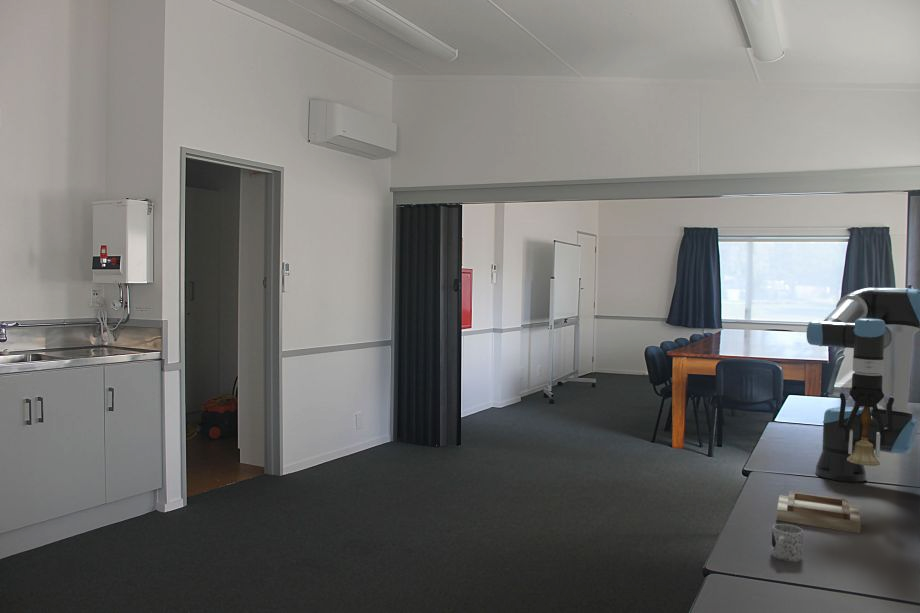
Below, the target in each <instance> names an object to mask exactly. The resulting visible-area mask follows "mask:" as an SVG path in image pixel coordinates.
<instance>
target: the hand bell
mask: <svg viewBox="0 0 920 613" xmlns="http://www.w3.org/2000/svg"><path fill="white" fill-rule="evenodd" d="M862 409H863V411H862V414H861V424H862V436H861V440H860V441H858V442H856V443H855V448H854V451H853V453H852V454H851V455H850V456H849V457H848V458H847V461H849V462H851V463H855V464H860V465H864V466H868V467H869V466H870V467H877V466H880V465H881V463H880V461H879V460H878V459H877V457H876V453H875V452H874V451H875V450H874V449H873V444H872V443H870V442H869V441H868V430H869V426H870V423H871V407H867V406H863V408H862Z"/></svg>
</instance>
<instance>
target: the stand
mask: <svg viewBox="0 0 920 613" xmlns="http://www.w3.org/2000/svg"><path fill="white" fill-rule="evenodd" d="M776 508H777V509H776V521H779V520H780V522H787V523H793V524H800V525H805V526H812V527H818V528H824V529H825V528H826V529H833V530H838V531H843V532H851V533H858V534H861V529H862V528H861V525H862V523H861V522H862V520H861V515H860V509H859V506H858V505H854V504H853V505H852V504H849V499H848V498H843V497H834V496H829V495H820V494H812V493H806V492H799V491H798V492H797V491H791V490H789V492H788V495H783V494H779V497H778V503H777V507H776Z"/></svg>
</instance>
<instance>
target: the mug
mask: <svg viewBox="0 0 920 613" xmlns="http://www.w3.org/2000/svg"><path fill="white" fill-rule="evenodd" d="M803 546H804V529H803V528H801V527H799V526H797V525H793V524H787V523H776V524H773V525H772V531H771V550H770V551H771V552H770V554H771V556H772V557H773V558H775V559H777V560H780V561H784V562H791V563H793V562H794V563H797V562H801V561H802V560H803Z"/></svg>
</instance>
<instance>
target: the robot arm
mask: <svg viewBox="0 0 920 613" xmlns="http://www.w3.org/2000/svg"><path fill="white" fill-rule="evenodd" d="M835 306H836V307H835V309H833V311H832V312H830V313H829V315H828V316H827V317H825V318H824V320H823V321H822V320H820V319H819V320H811V321H809V322H808V324H807V328H806V341H807V343H808V344H809V345H811V346H817V347H818V346H819V347H831V348H832V347H833V348H848V349H853V356H852V372H853V373H852V374H851V388H850V390H849V391H848V392H842V391H841V392H839V398H840V406H839V407H830V408H828V409H826V410H825V411H824V414H823V415H824V416H823V421H822V423H823V426H822V429H823V430H822V431H823V432H822V448H821V449H822V450H821V452H820V456H819V458H818V461H817V463H816V465H815V474H816V475H817V476H819V477H821V478H825V479H827V480H832V481H838V482H846V483H860V482H865V481H866V480H867V471H866V467H865V465H860V464H855V463H851V462H849V461H847V458H848V457H849V456H850V455H851V454H852V453H853V451H854V448H855V443H856V442H858V441H860V440H861V436H862V424H861V414H862V411H863V409H864V406H867V407H870V411H871V423H870V426H869V430H868V441H869V442H870V443H872V444H873V449H874V451H875V457H876V458H880V453H881V452H883V453H890V454H897V455H899V454H900V455H907V454H909V453H910V452H911V451H912V448H913V446H914V444H915V441H916V437H917V433H918V420H917V419H915V418H913V414H914V413H913V412H912V411H911V410H910V409H909V395H910V385H911V384H910V382H911V374H912V373H911V372H912V362H913V361H912V358H913V348H914V337H915V335H916V333H919V331H920V289H918V288H908V287H875V286H874V287H872V286H871V287H865V288H860V289H856V290H854V291H852V292H849V293H847V294H845V295H844V296H842V297H841V298H839V300H838V302H837V304H836V305H835ZM849 397H850V398H852V399H853V402H854V404H853V406H846V405H847V401H848V400H849ZM862 407H863V408H862Z"/></svg>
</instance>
